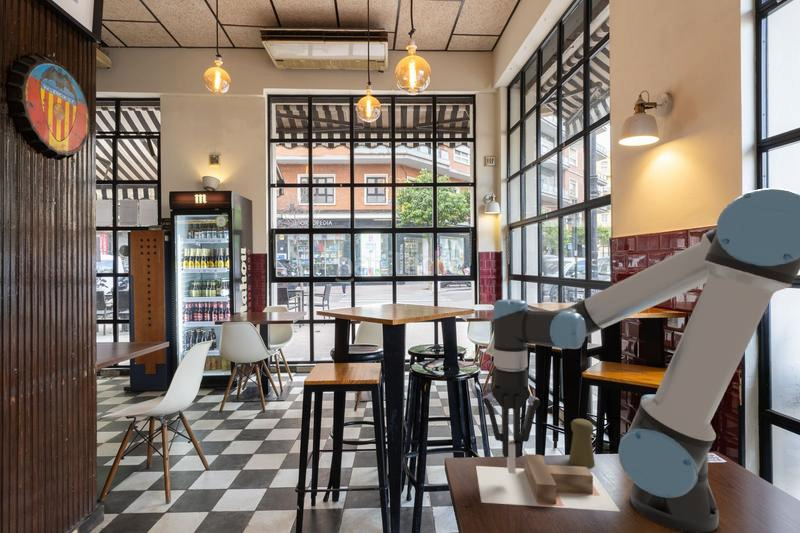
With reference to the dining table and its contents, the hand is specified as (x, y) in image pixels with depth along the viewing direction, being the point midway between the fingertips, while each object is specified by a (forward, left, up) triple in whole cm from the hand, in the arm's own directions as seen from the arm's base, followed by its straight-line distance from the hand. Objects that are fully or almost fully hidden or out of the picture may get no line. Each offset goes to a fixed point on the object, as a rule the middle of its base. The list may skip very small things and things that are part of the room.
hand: (511, 470), depth 95 cm
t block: (-10, 0, -3) cm, 10 cm away
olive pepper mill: (-20, -13, -4) cm, 24 cm away
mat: (-7, 0, -4) cm, 8 cm away
